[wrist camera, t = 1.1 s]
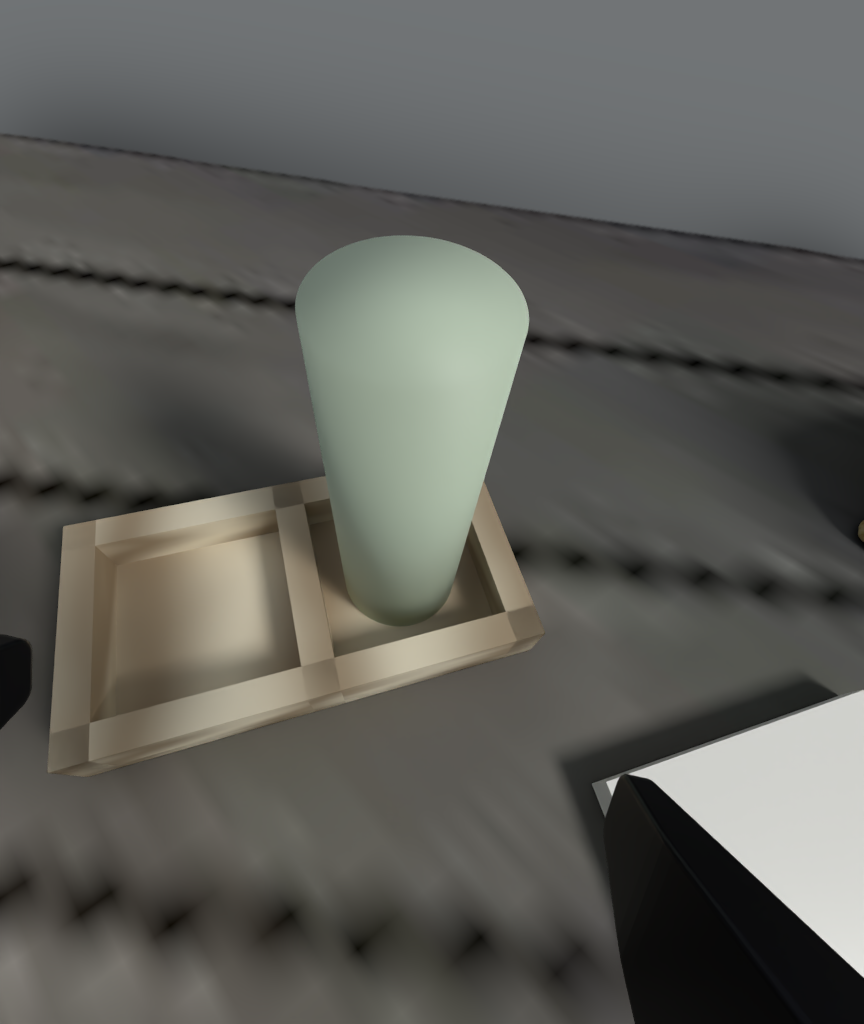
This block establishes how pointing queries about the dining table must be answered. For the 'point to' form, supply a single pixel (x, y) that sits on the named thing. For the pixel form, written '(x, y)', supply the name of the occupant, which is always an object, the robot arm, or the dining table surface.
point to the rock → (861, 531)
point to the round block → (407, 407)
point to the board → (784, 810)
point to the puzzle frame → (247, 624)
